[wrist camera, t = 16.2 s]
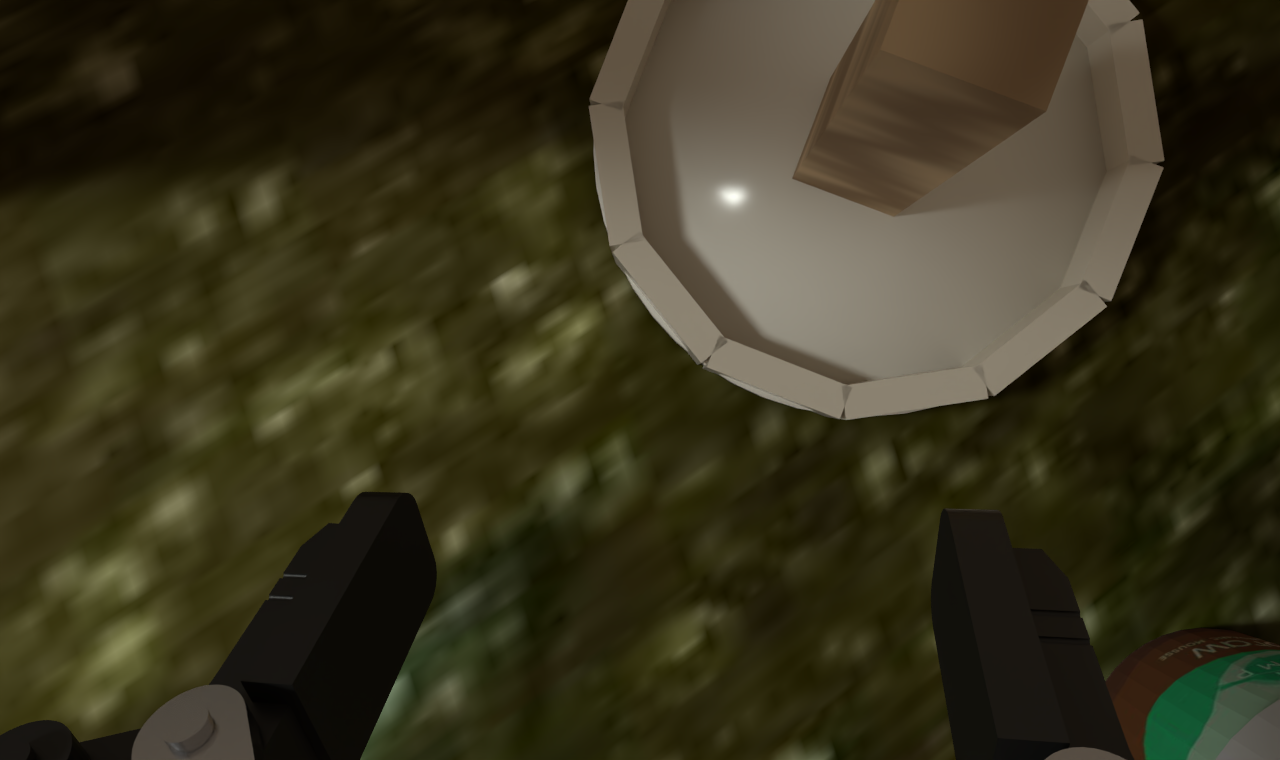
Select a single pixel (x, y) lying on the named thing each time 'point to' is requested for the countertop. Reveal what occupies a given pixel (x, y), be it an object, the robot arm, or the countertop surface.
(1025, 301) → the round dish
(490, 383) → the countertop surface
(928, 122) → the oak block
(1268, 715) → the food container
